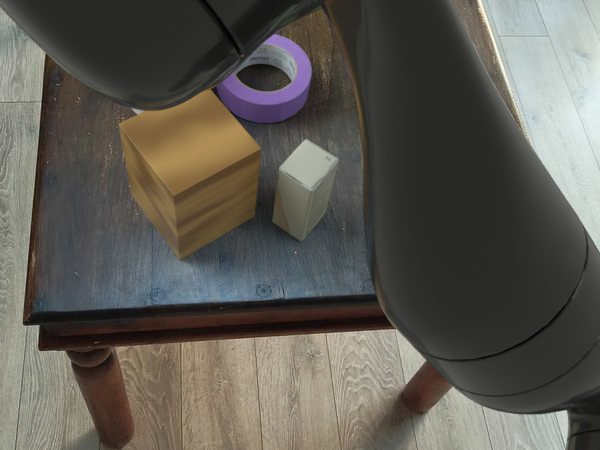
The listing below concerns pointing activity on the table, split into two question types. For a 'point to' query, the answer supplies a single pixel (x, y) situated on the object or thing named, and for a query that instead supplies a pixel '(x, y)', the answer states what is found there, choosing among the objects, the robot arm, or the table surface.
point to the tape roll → (270, 103)
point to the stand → (192, 171)
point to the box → (304, 189)
